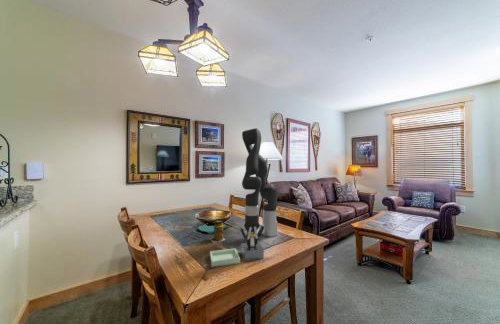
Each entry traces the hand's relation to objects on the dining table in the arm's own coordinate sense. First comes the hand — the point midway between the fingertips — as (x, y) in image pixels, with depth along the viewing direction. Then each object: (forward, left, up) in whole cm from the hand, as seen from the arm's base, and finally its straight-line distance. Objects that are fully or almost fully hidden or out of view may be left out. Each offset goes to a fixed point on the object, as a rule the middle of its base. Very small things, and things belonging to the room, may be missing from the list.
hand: (251, 244), depth 112 cm
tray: (+15, +1, -6) cm, 16 cm away
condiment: (+16, -27, -6) cm, 32 cm away
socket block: (0, 0, -6) cm, 6 cm away
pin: (0, 0, -6) cm, 6 cm away
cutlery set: (+22, -45, -6) cm, 51 cm away
